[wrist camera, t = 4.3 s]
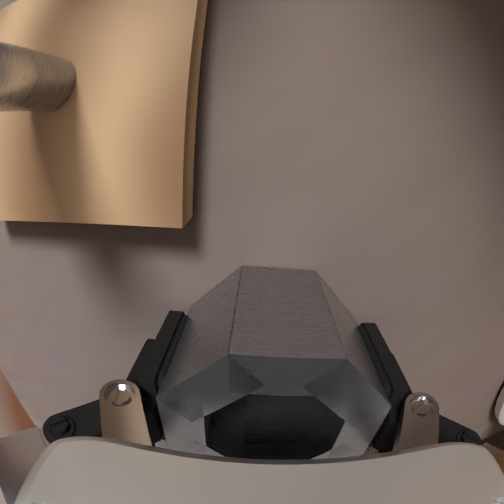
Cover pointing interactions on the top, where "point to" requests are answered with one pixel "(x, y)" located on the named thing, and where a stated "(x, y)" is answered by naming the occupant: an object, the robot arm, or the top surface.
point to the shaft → (33, 80)
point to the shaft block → (106, 114)
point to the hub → (271, 373)
